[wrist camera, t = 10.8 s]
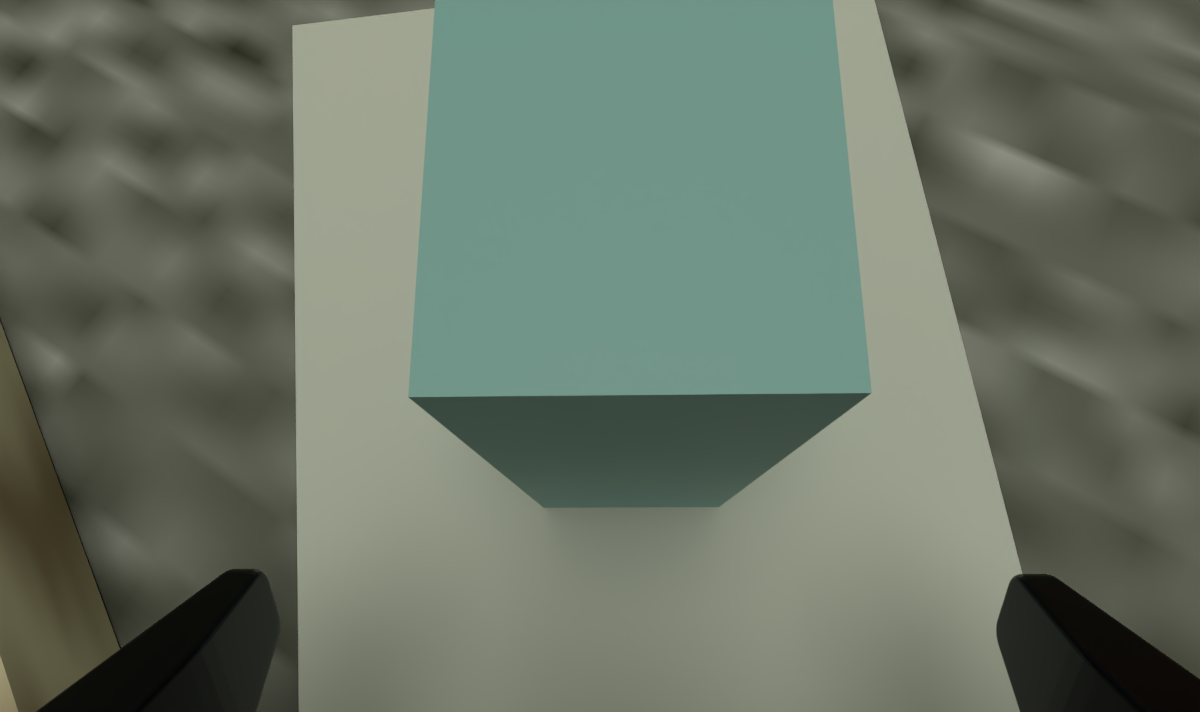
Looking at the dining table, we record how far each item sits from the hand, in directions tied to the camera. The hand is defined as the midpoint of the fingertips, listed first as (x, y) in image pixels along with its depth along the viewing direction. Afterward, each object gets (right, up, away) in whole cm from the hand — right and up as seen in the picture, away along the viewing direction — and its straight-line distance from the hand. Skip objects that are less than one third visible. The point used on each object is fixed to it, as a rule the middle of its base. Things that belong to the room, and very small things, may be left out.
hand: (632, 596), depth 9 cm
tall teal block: (0, +2, +7) cm, 7 cm away
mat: (0, +2, +7) cm, 7 cm away
